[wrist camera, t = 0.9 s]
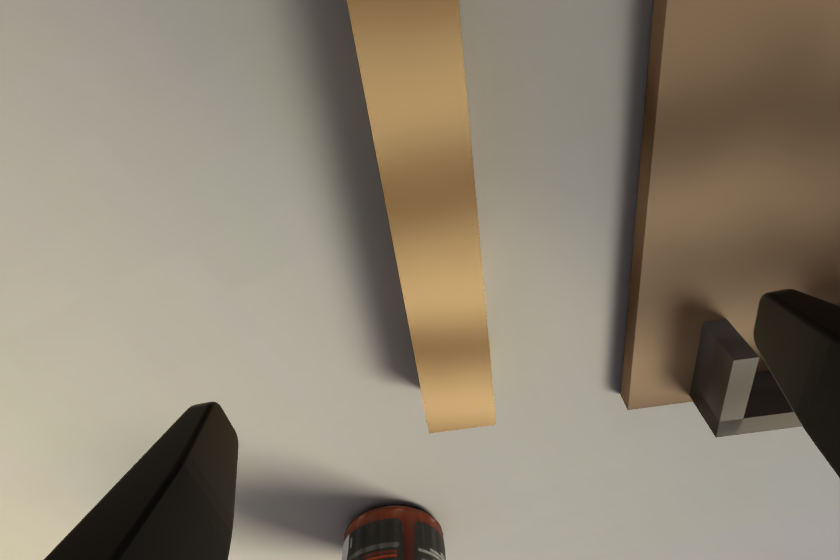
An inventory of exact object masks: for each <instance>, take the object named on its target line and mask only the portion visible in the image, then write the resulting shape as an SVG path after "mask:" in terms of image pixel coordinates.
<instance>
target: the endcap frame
mask: <svg viewBox="0 0 840 560" xmlns="http://www.w3.org/2000/svg"><path fill="white" fill-rule="evenodd" d="M783 289H794V290H797V291H800V292H803V293H806V294H808V295H811V296H814V297H817V298H819V299H822V300H825V301H828V302H830V303H833V304H836V305H839V306H840V0H654V2H653V14H652V26H651V38H650V50H649V62H648V74H647V86H646V98H645V110H644V122H643V134H642V146H641V158H640V170H639V182H638V194H637V205H636V217H635V229H634V241H633V253H632V265H631V277H630V289H629V301H628V313H627V325H626V337H625V349H624V361H623V373H622V385H621V397H622V399H623V401H624V403H625V405H626V407H627V409H628V410H631V409H639V408H646V407H654V406H662V405H669V404H677V403H684V402H692V401H693V402H694V404H695V405H696V407H697V408H698V410H699V412H700V413H701V415H702V416H703V418H704V419H705V421H706V423H707V424H708V426H709V427H710V429H711V430H712V432H713V433H714V435H715V437H722V436H730V435H738V434H745V433H753V432H761V431H769V430H777V429H784V428H792V427H800V426H802V424H801V423H800V421H799V420H798V418H797V416H796V415H795V413H794V411H793V410H792V408H791V406H790V404H789V403H788V401H787V399H786V397H785V396H784V394H783V392H782V391H781V389H780V387H779V385H778V384H777V382H776V380H775V378H774V377H773V375H772V373H771V371H770V370H769V368H768V366H767V365H766V363H765V361H764V359H763V358H762V356H761V354H760V352H759V351H758V349H757V347H756V345H755V342H754V338H753V330H754V325H755V320H756V315H757V310H758V305H759V301H760V298H761V297H762V295H763V294H765V293H768V292H772V291H778V290H783Z"/></svg>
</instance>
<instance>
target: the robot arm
mask: <svg viewBox="0 0 840 560" xmlns="http://www.w3.org/2000/svg"><path fill="white" fill-rule="evenodd" d="M753 338H754V342H755V345H756V347H757V349H758V351H759V352H760V354H761V356H762V358H763V359H764V361H765V363H766V365H767V366H768V368H769V370H770V371H771V373H772V375H773V377H774V378H775V380H776V382H777V384H778V385H779V387H780V389H781V391H782V392H783V394H784V396H785V397H786V399H787V401H788V403H789V404H790V406H791V408H792V410H793V411H794V413H795V415H796V416H797V418H798V420H799V421H800V423H801V424H802V426H803V428H804V429H805V431H806V432H807V433H808V435H809V436H810V438H811V439H812V441H813V442H814V443H815V445H816V446H817V447H818V449H819V450H820V452H821V453H822V454H823V456H824V457H825V458H826V460H827V461H828V462H829V464H830V465H831V467H832V468H833V469H834V471H835V472H836V473H837V475H838V476H839V478H840V306H839V305H836V304H833V303H830V302H828V301H825V300H822V299H819V298H817V297H814V296H811V295H808V294H806V293H803V292H800V291H797V290H794V289H783V290H778V291H772V292H768V293H765V294H763V295H762V297H761V298H760V301H759V305H758V310H757V315H756V320H755V325H754V330H753ZM237 460H238V438H237V434H236V432H235V430H234V428H233V426H232V425H231V423H230V421H229V420H228V418H227V416H226V415H225V413H224V411H223V409H222V408H221V406H220V405H219V404H218V403H216V402H207V403H202V404H197V405H193V406H191V407H190V408H189V409H187V410H186V411H185V412H184V414H183V415H182V416H181V417H180V418H179V419H178V420H177V421H176V422H175V423H174V424H173V425H172V426H171V427H170V428H169V429H168V430H167V431H166V432H165V433H164V434H163V436H162V437H161V438H160V439H159V440H158V441H157V442H156V443H155V444H154V445H153V446H152V447H151V448H150V449H149V450H148V451H147V452H146V453H145V454H144V455H143V456H142V458H141V459H140V460H139V461H138V462H137V463H136V464H135V465H134V466H133V467H132V468H131V469H130V470H129V471H128V472H127V473H126V474H125V475H124V476H123V477H122V478H121V479H120V481H119V482H118V483H117V484H116V485H115V486H114V487H113V488H112V489H111V490H110V491H109V492H108V493H107V494H106V495H105V496H104V497H103V498H102V499H101V500H100V501H99V503H98V504H97V505H96V506H95V507H94V508H93V509H92V510H91V511H90V512H89V513H88V514H87V515H86V516H85V517H84V518H83V519H82V520H81V521H80V522H79V523H78V524H77V526H76V527H75V528H74V529H73V530H72V531H71V532H70V533H69V534H68V535H67V536H66V537H65V538H64V539H63V540H62V541H61V542H60V543H59V544H58V545H57V546H56V547H55V549H54V550H53V551H52V552H51V553H50V554H49V555H48V556H47V557H46V558H45V559H44V560H228V555H229V549H230V543H231V537H232V529H233V518H234V504H235V489H236V475H237Z"/></svg>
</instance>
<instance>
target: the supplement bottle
mask: <svg viewBox="0 0 840 560" xmlns="http://www.w3.org/2000/svg"><path fill="white" fill-rule="evenodd" d="M342 560H446V557H445V547H444V540H443V532H442V529H441V526H440V525H439V523H438V522H437V521H436V520H435V519H434V518H433V517H432V516H431V515H430V514H428V513H426V512H424V511H422V510H418V509H415V508H411V507H405V506H385V507H380V508H376V509H372V510H370V511H367V512H365V513H363V514H361V515H359V516H358V517H357V518H355V519H354V520H353V521H352V522H351V523H350V525H349V526H348V528H347V530H346V532H345V535H344V544H343V552H342Z"/></svg>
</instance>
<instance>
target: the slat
mask: <svg viewBox="0 0 840 560" xmlns="http://www.w3.org/2000/svg"><path fill="white" fill-rule="evenodd" d="M347 4H348V10H349V15H350V20H351V25H352V31H353V36H354V41H355V46H356V51H357V57H358V62H359V67H360V72H361V78H362V83H363V88H364V93H365V99H366V104H367V109H368V114H369V120H370V125H371V130H372V135H373V141H374V146H375V151H376V156H377V162H378V167H379V172H380V177H381V183H382V188H383V193H384V198H385V204H386V209H387V214H388V219H389V225H390V230H391V235H392V240H393V246H394V251H395V256H396V261H397V267H398V272H399V277H400V282H401V288H402V293H403V298H404V303H405V309H406V314H407V319H408V324H409V330H410V335H411V340H412V345H413V351H414V356H415V361H416V366H417V372H418V377H419V382H420V387H421V393H422V398H423V403H424V408H425V414H426V419H427V424H428V429H429V433H436V432H443V431H451V430H458V429H466V428H474V427H481V426H489V425H496V417H495V405H494V394H493V383H492V372H491V361H490V349H489V338H488V327H487V316H486V305H485V294H484V282H483V271H482V260H481V249H480V238H479V226H478V215H477V204H476V193H475V182H474V170H473V159H472V148H471V137H470V126H469V114H468V103H467V92H466V81H465V70H464V59H463V47H462V36H461V25H460V14H459V3H458V0H347Z"/></svg>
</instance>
